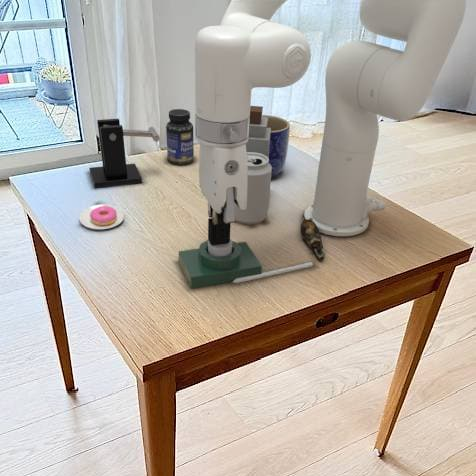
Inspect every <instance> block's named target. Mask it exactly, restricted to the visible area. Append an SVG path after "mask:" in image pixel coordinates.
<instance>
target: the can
mask: <svg viewBox="0 0 476 476" xmlns="http://www.w3.org/2000/svg"><path fill="white" fill-rule="evenodd" d="M268 162H269V159H268V157H267V156H265V155H263V154H260V153H255V152H247V168H248V186H247V208H246V210H245V211H242V210H240V209H239V208H238V206H237V205H236V204H235V202H234V210H235V222H238V223H240V224H244V225H257V224H260V223H261V222H262V221H264V220H266V219H267V217H268V216H269V205H270V194H271V182H272V177H271V171H272V166H271V165H270V164H269V163H268Z"/></svg>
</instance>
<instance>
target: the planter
mask: <svg viewBox="0 0 476 476" xmlns="http://www.w3.org/2000/svg"><path fill="white" fill-rule="evenodd" d="M262 117H268V121H267V127H266V128H271V133H270V146H269V162H268V163H269V164H270V165H271V166H272V171H271V178H274V177H276V176H278V175H279V174H280V173H281V172H282V170H283V169H284V167H285V165H286V163H287V162H286V161H287V156H288V151H289V150H288V149H289V144H290V143H289V142H290V132H291V131H290V130H291V124H290V122H289V121H288V120H287V119H285V118H283V117H279V116H275V115H269V114H262Z"/></svg>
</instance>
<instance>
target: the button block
mask: <svg viewBox="0 0 476 476" xmlns="http://www.w3.org/2000/svg"><path fill="white" fill-rule="evenodd" d="M232 242H233V243H232V253H231V254H230V255H229V256H224V257H217V256H212V255H210V254H209V253H208V239H207V240H205V241H203V242H201V243H200V245H199V246H198V248H192V249H185V250H179V251H178V263H179V265H180V267H181V269H182V271H183V273H184V276H185V278H186V280H187V282H188V285H189V287H190V289H196V288H203V287H209V286H214V285H219V284H220V285H221V284H226V283H233V281H234V280H235V279H237V278H242V277H247V276H253V275H259V274H261V273H263V272H262V270H263V265H262V264H261V262H260V260H259V259H258V257H257V256H256V255H255V252H253V250H252V249H251V247H250V246H249V245H248V243H247V242H246V241H240V242H239V241H238V242H236V241H235V240H232Z"/></svg>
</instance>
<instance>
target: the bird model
mask: <svg viewBox="0 0 476 476" xmlns="http://www.w3.org/2000/svg"><path fill="white" fill-rule="evenodd" d="M302 217H303V220H302V223H301V224H300V228H299V229H300V234H301V236H302V239H303V240H304V241H305V243H306V244H307V245H308V246H309V248H311V249H312V252H313V253H315V255H316V257H317V259H319V260H321V261H322V260H324V259H325V252H324V251H323V249H324V246H323V242H322V241H323V240H322V236H321V233H320V232H319V230H318V227H317V226H316V224H315V223H314V221H312V220H307V219H305V217H304V214H303V215H302Z"/></svg>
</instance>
